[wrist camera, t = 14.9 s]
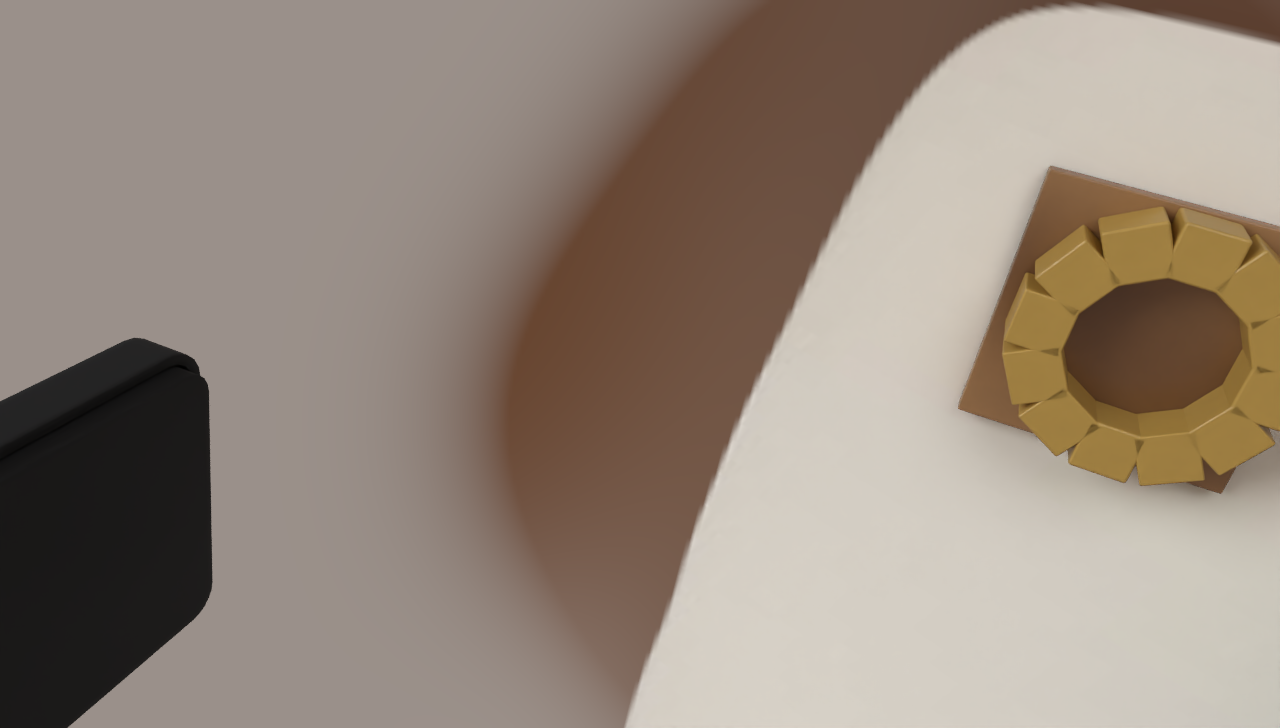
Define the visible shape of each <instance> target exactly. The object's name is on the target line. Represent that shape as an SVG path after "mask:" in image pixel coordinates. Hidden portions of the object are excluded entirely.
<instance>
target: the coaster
mask: <svg viewBox="0 0 1280 728" xmlns="http://www.w3.org/2000/svg"><path fill="white" fill-rule="evenodd" d="M1156 207H1164V208H1165V210H1166V213H1167V215H1168V218H1169V220H1170V223H1171V224H1172V222H1173V220H1174V218H1175V216H1176V214H1177V212H1178V210H1179V209H1180V208H1187V209H1190V210H1193V211H1197V212H1200V213H1204V214H1207V215H1211V216H1214V217H1217V218H1221V219H1224V220H1228V221H1231V222H1235V223H1238V224H1241V225H1242V226H1243V227H1244V228H1245V230H1246V232H1247V233H1248V235H1249V237H1252V236H1253V235H1255V234H1258V235H1260V237H1261V238H1262V239H1263V240H1264V241H1265V242H1266V243H1267V244H1268V245H1269V246H1270V247H1271V249H1272V250H1273V251H1274V252H1275V253H1276V254H1277V255H1278V256H1279V257H1280V227H1279V226H1276V225H1272V224H1268V223H1264V222H1261V221H1257V220H1253V219H1249V218H1246V217H1242V216H1238V215H1234V214H1231V213H1227V212H1223V211H1219V210H1216V209H1212V208H1208V207H1204V206H1200V205H1197V204H1193V203H1189V202H1185V201H1182V200H1178V199H1174V198H1170V197H1167V196H1163V195H1159V194H1155V193H1152V192H1148V191H1144V190H1140V189H1136V188H1133V187H1129V186H1125V185H1121V184H1118V183H1114V182H1110V181H1106V180H1103V179H1099V178H1095V177H1091V176H1088V175H1084V174H1080V173H1076V172H1072V171H1069V170H1065V169H1061V168H1057V167H1054V166H1050V167H1049V169H1048V171H1047V174H1046V176H1045V179H1044V182H1043V184H1042V187H1041V190H1040V192H1039V195H1038V197H1037V200H1036V203H1035V205H1034V208H1033V210H1032V213H1031V216H1030V218H1029V221H1028V223H1027V226H1026V229H1025V231H1024V234H1023V236H1022V239H1021V242H1020V244H1019V247H1018V249H1017V252H1016V255H1015V257H1014V260H1013V263H1012V265H1011V268H1010V270H1009V273H1008V276H1007V278H1006V281H1005V283H1004V286H1003V289H1002V291H1001V294H1000V296H999V299H998V302H997V304H996V307H995V309H994V312H993V315H992V317H991V320H990V323H989V325H988V328H987V330H986V333H985V336H984V338H983V341H982V343H981V346H980V349H979V351H978V354H977V356H976V359H975V362H974V364H973V367H972V369H971V372H970V375H969V377H968V380H967V382H966V385H965V388H964V390H963V393H962V396H961V398H960V401H959V405H958V409H960V410H963V411H966V412H969V413H972V414H975V415H979V416H982V417H985V418H988V419H991V420H994V421H997V422H1000V423H1003V424H1006V425H1009V426H1013V427H1016V428H1019V429H1022V430H1025V431H1028V432H1031V433H1033V432H1032V431H1031V430H1030V429H1029V428H1028V426H1027V425H1026V424H1025V423H1024V422H1023V421H1022V420H1021V419H1020V418H1019V416H1018V413H1019V404H1018V405H1012V403H1011V398H1010V393H1009V388H1008V383H1007V377H1006V372H1005V367H1004V362H1003V357H1002V350H1003V339H1004V332H1005V321H1006V318H1007V316H1008V313H1009V311H1010V309H1011V306H1012V304H1013V302H1014V299H1015V297H1016V294H1017V292H1018V290H1019V287H1020V285H1021V283H1022V280H1023V278H1024V275H1025V274H1026V273H1031V274H1035V261H1036V260H1037V259H1038V258H1040V257H1041V256H1042V255H1044V254H1045V253H1046V252H1048V251H1049V250H1050V249H1052V248H1053V247H1054V246H1055V245H1057V244H1058V243H1059V242H1061V241H1062V240H1063V239H1065V238H1066V237H1067V236H1069V235H1070V234H1071V233H1073V232H1074V231H1075V230H1077V229H1078V228H1079V227H1081V226H1082V225H1085V226H1086V227H1087V228H1088V229H1089V230H1090V231H1091V232H1092V233H1093V234H1094V235H1095V236H1096V237H1097V238H1098V239H1099V241H1100V242H1101V237H1100V231H1099V225H1098V220H1099V218H1102V217H1107V216H1112V215H1118V214H1123V213H1129V212H1134V211H1139V210H1145V209H1150V208H1156ZM1241 350H1242V340H1241V331H1240V322H1239V318H1238V317H1237V316H1236V315H1235V313H1234V312H1233V311H1232V310H1231V309H1230V308H1229V307H1228V306H1227V305H1226V304H1225V303H1224V302H1223V300H1222V299H1221V298H1220V297H1219V296H1218V295H1217V294H1216V293H1214V292H1211V291H1208V290H1204V289H1201V288H1198V287H1194V286H1191V285H1188V284H1185V283H1181V282H1178V281H1175V280H1172V279H1161V280H1155V281H1149V282H1142V283H1136V284H1130V285H1124V286H1118V287H1117V288H1115V289H1114V290H1112V291H1111V292H1110V293H1108V294H1107V295H1105V296H1104V297H1102V298H1101V299H1100V300H1098V301H1097V302H1095V303H1094V304H1093V305H1091V306H1090V307H1088V308H1087V309H1085V310H1084V311H1083V312H1081V313H1080V314H1079V316H1078V318H1077V320H1076V322H1075V324H1074V327H1073V329H1072V331H1071V333H1070V335H1069V337H1068V340H1067V342H1066V344H1065V346H1064V353H1065V358H1066V364H1067V370H1068V372H1069V373H1070V374H1071V375H1072V376H1073V377H1074V378H1075V379H1076V380H1077V381H1078V382H1079V383H1080V384H1081V385H1082V386H1083V388H1084V389H1085V390H1086V391H1087V392H1088V393H1089V394H1090V395H1091V396H1092V397H1093V398H1094V399H1095V400H1096V401H1099V402H1102V403H1105V404H1108V405H1111V406H1114V407H1117V408H1120V409H1122V410H1125V411H1128V412H1131V413H1134V414H1140V413H1149V412H1158V411H1167V410H1176V409H1183V408H1185V407H1187V406H1188V405H1190V404H1192V403H1193V402H1195V401H1197V400H1198V399H1200V398H1201V397H1203V396H1205V395H1206V394H1208V393H1210V392H1211V391H1213V390H1215V389H1216V388H1218V387H1219V386H1221V385H1223V383H1224V381H1225V379H1226V377H1227V375H1228V374H1229V372H1230V370H1231V368H1232V366H1233V365H1234V363H1235V361H1236V359H1237V357H1238V356H1239V354H1240V352H1241ZM1202 461H1203V468H1204V476H1205V479H1204V480H1203V481H1193V482H1186V483H1189V484H1192V485H1195V486H1198V487H1201V488H1204V489H1207V490H1211V491H1214V492H1217V493H1220V494H1221V493H1222V492H1223V490H1224V488H1225V487H1226V485H1227V483H1228V481H1229V479H1230V477H1231V476H1232V474H1233V472H1234V470H1235V468H1236V467H1237V466H1236V467H1235V468H1233V469H1231V470H1229V471H1228V472H1226V473H1224V474H1222V475H1218V474H1217V473H1216V472H1215V471H1214V470H1213V469H1212V468H1211V467H1210V466H1209V465H1208V464H1207V462H1206V461H1205V460H1204V459H1203V458H1202ZM1135 466H1136V464H1135Z"/></svg>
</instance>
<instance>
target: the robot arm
mask: <svg viewBox="0 0 1280 728" xmlns="http://www.w3.org/2000/svg"><path fill="white" fill-rule="evenodd" d="M211 541H212V539H211V483H210V429H209V390H208V384H207V382H206V381H205V379H204V378H203V377H201V376H200V372H199V367H198V365H197V363H196V362H195V360H194V359H193V358H191V357H189V356H188V355H186V354H183V353H181V352H178V351H175V350H172V349H170V348H167V347H164V346H162V345H159V344H156V343H154V342H151V341H148V340H146V339H141V338H132V339H129V340H126V341H123V342H121V343H119V344H117V345H115V346H113V347H111V348H109V349H107V350H105V351H103V352H101V353H98V354H96V355H95V356H92V357H90V358H88V359H86V360H84V361H82V362H80V363H78V364H76V365H74V366H72V367H70V368H68V369H66V370H64V371H62V372H60V373H58V374H56V375H54V376H51V377H50V378H48V379H45V380H43V381H41V382H39V383H37V384H35V385H33V386H31V387H29V388H27V389H25V390H23V391H21V392H19V393H17V394H15V395H13V396H10V397H8V398H6V399H4V400H2V401H0V728H68V726H70V725H71V724H72V723H73V722H74V721H76V720H77V719H78V718H79V717H80V716H82V715H83V714H84V713H85V712H86V711H87V710H88V709H90V708H91V707H92V706H93V705H94V704H96V703H97V702H98V701H99V700H100V699H101V698H103V697H104V696H105V695H106V694H107V693H108V692H110V691H111V690H112V689H113V688H114V687H115V686H116V685H118V684H119V683H120V682H121V681H122V680H124V679H125V678H126V677H127V676H128V675H129V674H130V673H132V672H133V671H134V670H135V669H136V668H138V667H139V666H140V665H141V664H142V663H143V662H145V661H146V660H147V659H148V658H149V657H150V656H152V655H153V654H154V653H155V652H156V651H157V650H159V649H160V648H161V647H162V646H163V645H164V644H166V643H167V642H168V641H169V640H170V639H171V638H173V637H174V636H175V635H176V634H177V633H178V632H180V631H181V630H182V629H183V628H184V627H185V626H187V625H188V624H189V623H190V622H191V621H192V620H194V618H195V617H196V616H197V615H198V614H199V613H200V612H201V610H202V609H203V607H204V606H205V604H206V602H207V600H208V598H209V595H210V592H211V589H212V542H211Z"/></svg>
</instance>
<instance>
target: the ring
mask: <svg viewBox="0 0 1280 728" xmlns="http://www.w3.org/2000/svg"><path fill="white" fill-rule="evenodd" d="M1098 225H1099V231H1100V237H1101V242H1100V241H1099V239H1098V238H1097V237H1096V236H1095V235H1094V234H1093V233H1092V232H1091V231H1090V230H1089V229H1088V228H1087V227H1086V226H1085V225H1082V226H1081V227H1079V228H1078V229H1077V230H1075V231H1074V232H1073V233H1071V234H1070V235H1069V236H1067V237H1066V238H1065V239H1063V240H1062V241H1061V242H1059V243H1058V244H1057V245H1055V246H1054V247H1053V248H1052V249H1050V250H1049V251H1048V252H1046V253H1045V254H1044V255H1042V256H1041V257H1040V258H1038V259H1037V260H1036V261H1035V274H1031V273H1026V274H1025V275H1024V278H1023V280H1022V283H1021V285H1020V287H1019V290H1018V292H1017V294H1016V297H1015V299H1014V302H1013V304H1012V306H1011V309H1010V311H1009V313H1008V316H1007V318H1006V321H1005V332H1004V339H1003V350H1002V357H1003V362H1004V367H1005V372H1006V377H1007V383H1008V388H1009V393H1010V398H1011V403H1012V405H1018V404H1019V413H1018V416H1019V418H1020V419H1021V420H1022V421H1023V422H1024V423H1025V424H1026V425H1027V426H1028V428H1029V429H1030V430H1031V431H1032V432H1033V433H1034V434H1035V435H1036V436H1037V437H1038V438H1039V439H1040V440H1041V441H1042V442H1043V443H1044V444H1045V445H1046V447H1047V448H1048V449H1049V450H1050V451H1051V452H1052V453H1053V454H1054V455H1055V456H1058V455H1060V454H1061V453H1063V452H1064V451H1066V450H1068V463H1069V464H1071V465H1073V466H1076V467H1079V468H1082V469H1085V470H1088V471H1091V472H1093V473H1096V474H1099V475H1102V476H1105V477H1108V478H1111V479H1113V480H1116V481H1119V482H1122V483H1125V482H1126V481H1127V480H1128V478H1129V476H1130V474H1131V472H1132V470H1133V468H1134V466H1135V464H1136V467H1137V473H1138V479H1139V484H1140V486H1145V485H1157V484H1169V483H1181V482H1193V481H1203V480H1204V479H1205V476H1204V468H1203V461H1202V458H1203V459H1204V460H1205V461H1206V462H1207V464H1208V465H1209V466H1210V467H1211V468H1212V469H1213V470H1214V471H1215V472H1216V473H1217V474H1218V475H1222V474H1224V473H1226V472H1228V471H1229V470H1231V469H1233V468H1235V467H1236V466H1238V465H1240V464H1242V463H1243V462H1245V461H1247V460H1249V459H1251V458H1252V457H1254V456H1256V455H1258V454H1259V453H1261V452H1263V451H1265V450H1267V449H1268V448H1270V447H1272V446H1274V445H1275V442H1274V439H1273V437H1272V435H1271V432H1270V430H1269V428H1271V429H1274V430H1277V431H1280V257H1279V256H1278V255H1277V254H1276V253H1275V252H1274V251H1273V250H1272V249H1271V247H1270V246H1269V245H1268V244H1267V243H1266V242H1265V241H1264V240H1263V239H1262V238H1261V237H1260V235H1258V234H1255V235H1253V236H1252V237H1249V235H1248V233H1247V232H1246V230H1245V228H1244V227H1243V226H1242V225H1241V224H1238V223H1235V222H1231V221H1228V220H1224V219H1221V218H1217V217H1214V216H1211V215H1207V214H1204V213H1200V212H1197V211H1193V210H1190V209H1187V208H1180V209H1179V210H1178V212H1177V214H1176V216H1175V218H1174V220H1173V222H1172V224H1171V223H1170V220H1169V218H1168V215H1167V213H1166V210H1165V208H1164V207H1156V208H1150V209H1145V210H1139V211H1134V212H1129V213H1123V214H1118V215H1112V216H1107V217H1102V218H1099V220H1098ZM1161 279H1172V280H1175V281H1178V282H1181V283H1185V284H1188V285H1191V286H1194V287H1198V288H1201V289H1204V290H1208V291H1211V292H1214V293H1216V294H1217V295H1218V296H1219V297H1220V298H1221V299H1222V300H1223V302H1224V303H1225V304H1226V305H1227V306H1228V307H1229V308H1230V309H1231V310H1232V311H1233V312H1234V313H1235V315H1236V316H1237V317H1238V318H1239V322H1240V331H1241V340H1242V350H1241V352H1240V354H1239V356H1238V357H1237V359H1236V361H1235V363H1234V365H1233V366H1232V368H1231V370H1230V372H1229V374H1228V375H1227V377H1226V379H1225V381H1224V383H1223V385H1221V386H1219V387H1218V388H1216V389H1215V390H1213V391H1211V392H1210V393H1208V394H1206V395H1205V396H1203V397H1201V398H1200V399H1198V400H1197V401H1195V402H1193V403H1192V404H1190V405H1188V406H1187V407H1185V408H1183V409H1176V410H1167V411H1158V412H1149V413H1140V414H1134V413H1131V412H1128V411H1125V410H1122V409H1120V408H1117V407H1114V406H1111V405H1108V404H1105V403H1102V402H1099V401H1096V400H1095V399H1094V398H1093V397H1092V396H1091V395H1090V394H1089V393H1088V392H1087V391H1086V390H1085V389H1084V388H1083V386H1082V385H1081V384H1080V383H1079V382H1078V381H1077V380H1076V379H1075V378H1074V377H1073V376H1072V375H1071V374H1070V373H1069V372H1068V370H1067V364H1066V358H1065V353H1064V346H1065V344H1066V342H1067V340H1068V337H1069V335H1070V333H1071V331H1072V329H1073V327H1074V324H1075V322H1076V320H1077V318H1078V316H1079V314H1080V313H1081V312H1083V311H1084V310H1085V309H1087V308H1088V307H1090V306H1091V305H1093V304H1094V303H1095V302H1097V301H1098V300H1100V299H1101V298H1102V297H1104V296H1105V295H1107V294H1108V293H1110V292H1111V291H1112V290H1114V289H1115V288H1117V287H1118V286H1124V285H1130V284H1136V283H1142V282H1149V281H1155V280H1161Z"/></svg>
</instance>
